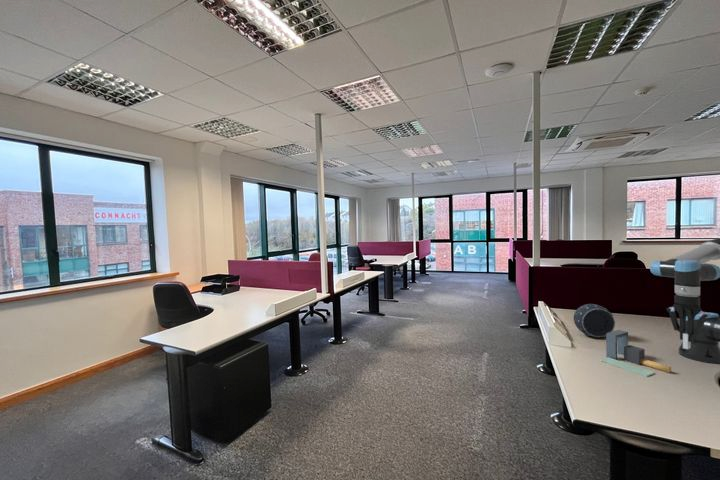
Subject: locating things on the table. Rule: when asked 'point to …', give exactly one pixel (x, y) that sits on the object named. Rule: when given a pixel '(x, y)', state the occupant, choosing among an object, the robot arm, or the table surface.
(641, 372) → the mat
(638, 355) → the grey hammer
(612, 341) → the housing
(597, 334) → the dark grey short cylinder
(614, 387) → the table surface
